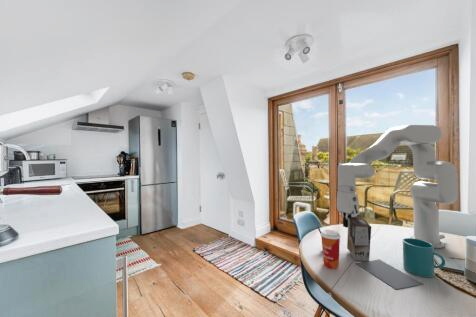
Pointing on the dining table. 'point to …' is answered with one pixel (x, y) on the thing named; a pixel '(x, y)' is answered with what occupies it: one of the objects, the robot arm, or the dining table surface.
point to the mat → (389, 274)
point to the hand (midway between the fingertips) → (347, 226)
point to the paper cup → (330, 248)
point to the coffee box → (359, 238)
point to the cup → (420, 257)
